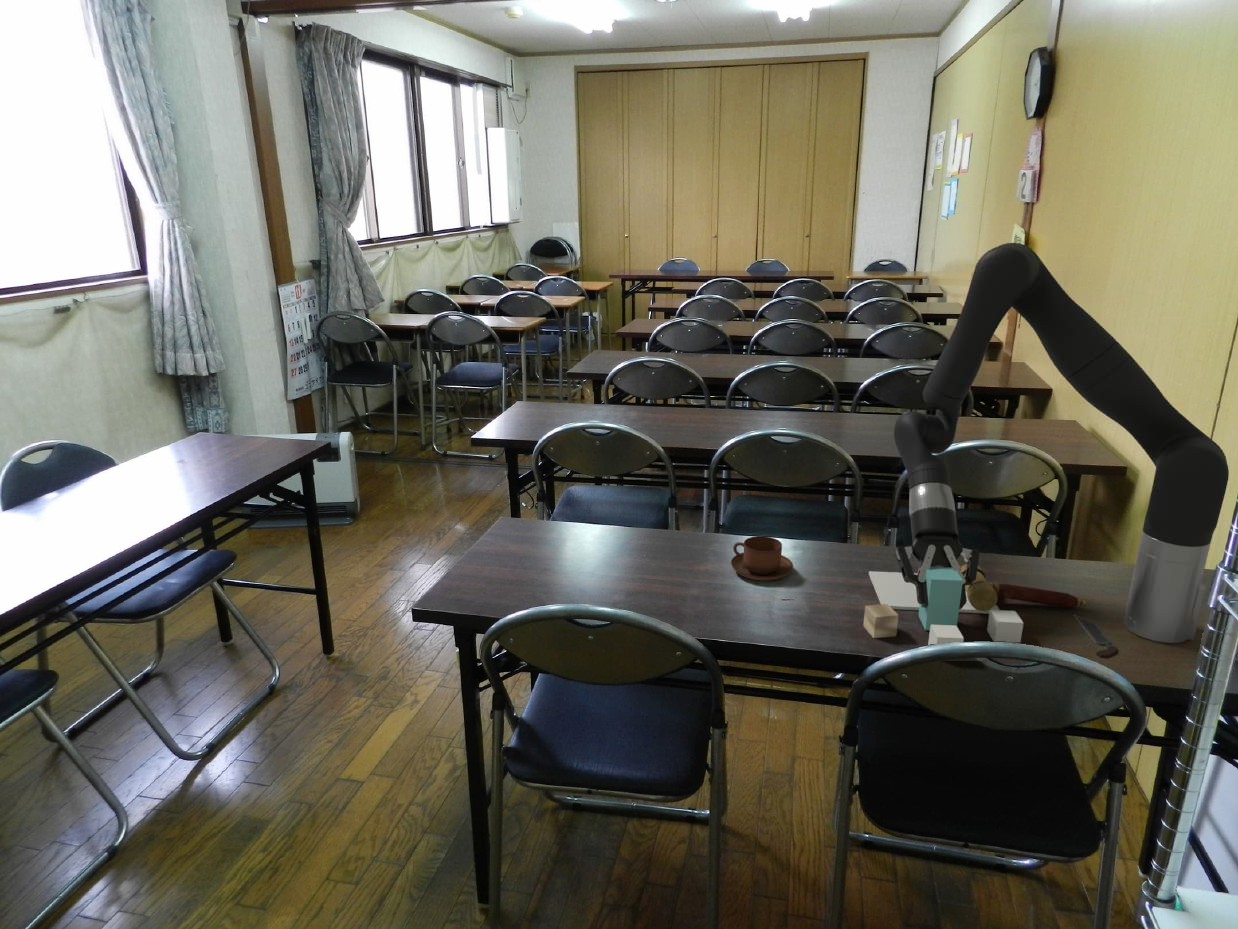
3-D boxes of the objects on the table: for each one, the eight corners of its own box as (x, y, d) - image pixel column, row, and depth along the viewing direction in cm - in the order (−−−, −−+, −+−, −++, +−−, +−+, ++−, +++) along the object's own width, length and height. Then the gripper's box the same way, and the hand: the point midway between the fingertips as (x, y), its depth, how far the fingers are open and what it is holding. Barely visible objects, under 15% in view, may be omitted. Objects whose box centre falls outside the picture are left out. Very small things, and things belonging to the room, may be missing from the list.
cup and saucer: (727, 582, 154) (728, 553, 152) (734, 557, 165) (735, 529, 163) (791, 589, 151) (793, 559, 149) (793, 562, 162) (795, 534, 160)
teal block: (948, 617, 139) (954, 567, 136) (956, 631, 134) (962, 580, 131) (918, 615, 140) (924, 566, 137) (925, 630, 135) (931, 579, 132)
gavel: (1079, 579, 146) (1101, 605, 136) (1072, 601, 147) (1093, 628, 138) (959, 561, 148) (973, 585, 139) (954, 583, 150) (967, 608, 140)
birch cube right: (885, 624, 138) (887, 603, 136) (896, 636, 134) (898, 615, 133) (863, 626, 137) (865, 605, 136) (873, 638, 133) (875, 617, 132)
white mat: (975, 578, 154) (976, 575, 153) (999, 614, 140) (1000, 611, 140) (868, 574, 156) (869, 571, 156) (882, 608, 143) (883, 605, 143)
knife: (1124, 661, 127) (1125, 657, 126) (1097, 659, 127) (1098, 655, 127) (1089, 617, 140) (1089, 614, 140) (1064, 616, 140) (1065, 612, 140)
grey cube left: (1011, 632, 135) (1015, 611, 134) (1019, 644, 131) (1023, 622, 130) (986, 631, 135) (990, 609, 134) (994, 643, 132) (997, 621, 130)
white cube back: (953, 647, 131) (956, 625, 129) (960, 660, 127) (963, 638, 125) (928, 646, 131) (930, 624, 130) (934, 659, 127) (937, 637, 126)
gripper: (895, 504, 139) (903, 598, 132) (981, 506, 137) (994, 602, 130) (886, 520, 146) (893, 611, 138) (968, 523, 144) (980, 615, 136)
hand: (942, 606), depth 134 cm, fingers closed on teal block, 5 cm apart
